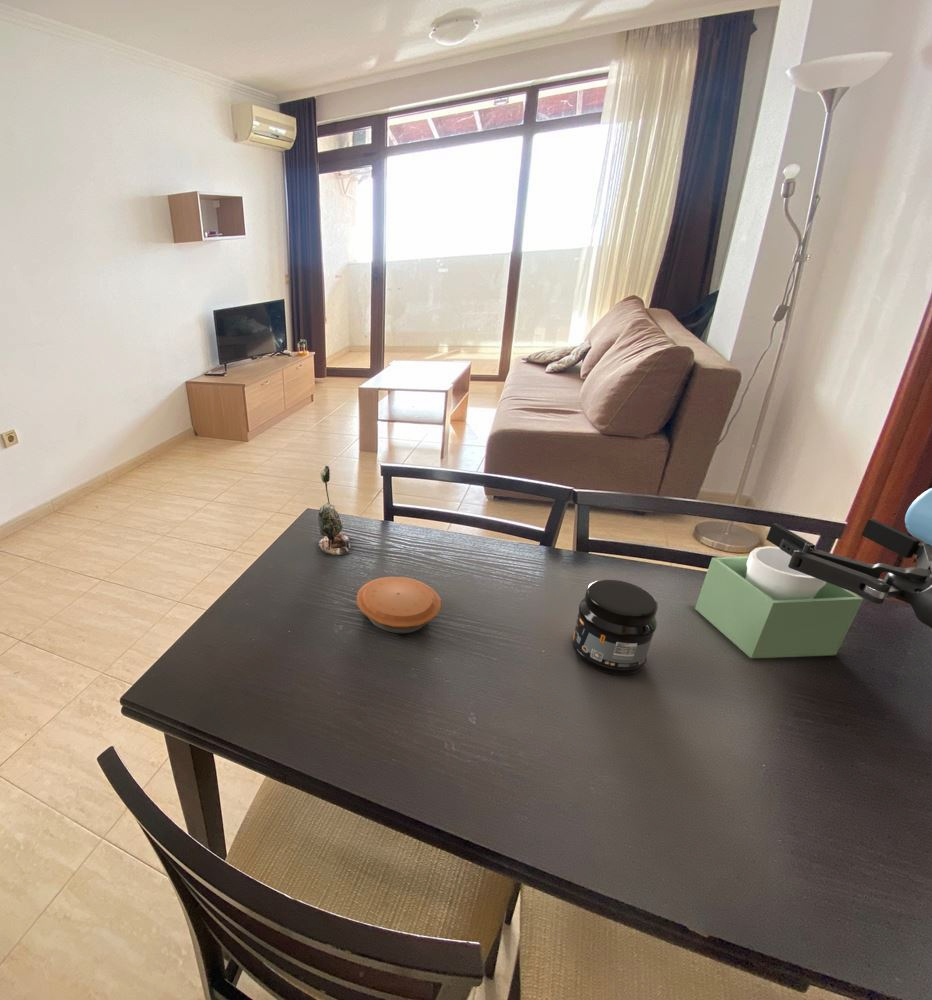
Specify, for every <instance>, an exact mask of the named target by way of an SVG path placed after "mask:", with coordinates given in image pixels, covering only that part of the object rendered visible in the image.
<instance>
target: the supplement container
mask: <svg viewBox="0 0 932 1000" xmlns="http://www.w3.org/2000/svg"><path fill="white" fill-rule="evenodd" d="M658 608H659V604H658V601H657V599H656V598H655V597H654V595H652V594H651V593H650V592H649V591H648V590H646V589H644V588H642V587H641V586H639V585H636V584H633V583H630V582H627V581H623V580H618V579H601V580H600V579H599V580H596V581H593V582H591V583H590V584H588V586H587V587H586V590H585V594H584V598H583V599H582V600H581V601H580V603H579V604H578V614H577V618H576V623H575V627H574V632H573V636H572V639H571V646H572V650H573V652H574V653H575V654H576V656H577V657H578V658H579V659H580V660H581V661H582V662H583V663H585V664H586V665H588V666H590V667H591V668H593V669H595V670H598V671H601V672H603V673H606V674H611V675H619V676H625V675H632V674H635V673H637V672H639V671H641V670H642V669H643V668H644V666H645V664H646V661H647V656H648V652H649V649H650V645H651V643H652V639H653V636H654V633H655V632H656V630H657V627H658V622H657V618H656V616H657V615H656V614H657V612H658Z"/></svg>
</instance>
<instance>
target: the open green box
mask: <svg viewBox="0 0 932 1000" xmlns="http://www.w3.org/2000/svg"><path fill="white" fill-rule="evenodd" d="M748 558H749V555H742V556H721V557H720V556H719V557H711V560H710V562H709V566H708V568H707V571H706V575H705V578H704V580H703V583H702V587H701V590H700V592H699V596H698V599H697V601H696V605H695V608H694V609H695V610H696V611H697V612H698V613H699V614H700V615H701V616H702V617H704V618H705V619H706V620H707V621H708V622H709V623H710V624H711V625H712V626H714V627H715V628H716V629H717V630H718V631H720V633H722V634H723V635H724V636H725V637H726V638H727V639H729V640H730V641H731V642H732V643H733V644H734V645H735V646H736V647H737V648H738V649H740V650H741V651H742V652H743V653H744V654H745V655H746V656H748V657H749V658H750V659H771V658H772V659H773V658H775V659H776V658H798V657H825V656H827V657H828V656H837V654H838V652H839V650H840V648H841V645H842V644H843V642H844V640H845V637H846V636H847V633H848V632H849V631H850V630H849V629H850V627H851V625H852V623H853V621H854V619H855V617H856V615H857V614H858V612H859V610H860V607H861V605H862V603H863V601H864V597H862V596H860V595H858V594H856V593H854V592H851V591H849V590H846V589H843V588H841V587H838V586H836V585H833V584H830V583H828V582H826V584H825V585H824V586H823V587H822V588H821V589H820V590H819V591H818V593H817V594H816V596H815V597H814V598H813V599H798V600H775V601H774V600H773V599H772V598H770V597H769V596H767V595H766V594H765V593H763V592H762V591H761V590H759V589H758V588H756V587H755V586H754V585H752V584H751V583H750V582H748V581H747V580H745V579H746V573H747V561H748Z"/></svg>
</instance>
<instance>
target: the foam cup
mask: <svg viewBox="0 0 932 1000" xmlns="http://www.w3.org/2000/svg"><path fill="white" fill-rule="evenodd" d="M748 556H749V558H748V561H747V573H746V579H745V580H747V581H748V582H750V583H751V584H752V585H754V586H755V587H756V588H758V589H759V590H761V591H762V592H763V593H765V594H766V595H767V596H769V597H770V598H772V599H773V600H774V601H775V600H798V599H813V598H814V597H815V596H816V594H817V593H818V591H819V590H820V589H821V588H822V587H823V586H824V585H825V584H826V582H825V581H822V580H820V579H817V578H815V577H812V576H809V575H807V574H804V573H802V572H799V571H796V570H794V569H791V568H789V567H788V565H789V562H790V560H791V557H792V556H790V555H789V554H787V553H786V552H784V551H782V550H781V549H780V548H779V547H777V546H758V547H755V548H754V549H752V550H751V551H750V553H749V555H748Z"/></svg>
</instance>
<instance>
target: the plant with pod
mask: <svg viewBox="0 0 932 1000" xmlns="http://www.w3.org/2000/svg"><path fill="white" fill-rule="evenodd" d="M330 471H331V470H330V467H329V465H324V467H323V468H322V470H321V471H320V479H321V481H322V482H323V483H324V485H325V491H326V497H327V498H326V499H327V503H325V504H323V505H321V506H320V508H317V511H318V517H317V521H318V522H317V523H318V526H319V534H320V535H321V536H322V538H321V539H320V540H319V542H318V543H317V545H318V546H319V547H320V549H321V550H322V552H323V553H324V554H327V555H333V556H336V555H337V556H338V555H341V556H342V555H345V554H347V553H348V552H349V551H350V548H351V546H352V545H351V542H350V538H349V536H347V535H346V534H344V533H343V532H342V530H343V529H344V526H343V519H342V518H341V514H340V512H339V511H338V510H337V508H336V506H335V505H334V504H331V503H330V498H329V491H328V483H329V482H330V479H331V477H330V476H331V473H330Z"/></svg>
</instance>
